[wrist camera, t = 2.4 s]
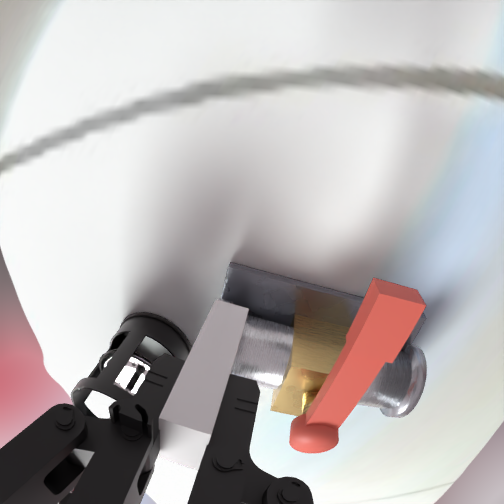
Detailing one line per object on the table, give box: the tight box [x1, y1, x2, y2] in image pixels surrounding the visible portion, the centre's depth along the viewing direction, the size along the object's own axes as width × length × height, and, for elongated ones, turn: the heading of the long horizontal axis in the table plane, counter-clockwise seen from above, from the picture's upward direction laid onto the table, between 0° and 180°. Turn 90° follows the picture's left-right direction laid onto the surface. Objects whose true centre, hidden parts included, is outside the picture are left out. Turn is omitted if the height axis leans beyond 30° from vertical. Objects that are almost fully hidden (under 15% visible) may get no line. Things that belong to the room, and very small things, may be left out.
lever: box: [289, 278, 426, 453], centre depth 18 cm, size 15×4×2 cm, turn 167°
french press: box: [58, 312, 191, 504], centre depth 24 cm, size 12×9×23 cm
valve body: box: [219, 262, 427, 418], centre depth 26 cm, size 20×12×10 cm, turn 77°
